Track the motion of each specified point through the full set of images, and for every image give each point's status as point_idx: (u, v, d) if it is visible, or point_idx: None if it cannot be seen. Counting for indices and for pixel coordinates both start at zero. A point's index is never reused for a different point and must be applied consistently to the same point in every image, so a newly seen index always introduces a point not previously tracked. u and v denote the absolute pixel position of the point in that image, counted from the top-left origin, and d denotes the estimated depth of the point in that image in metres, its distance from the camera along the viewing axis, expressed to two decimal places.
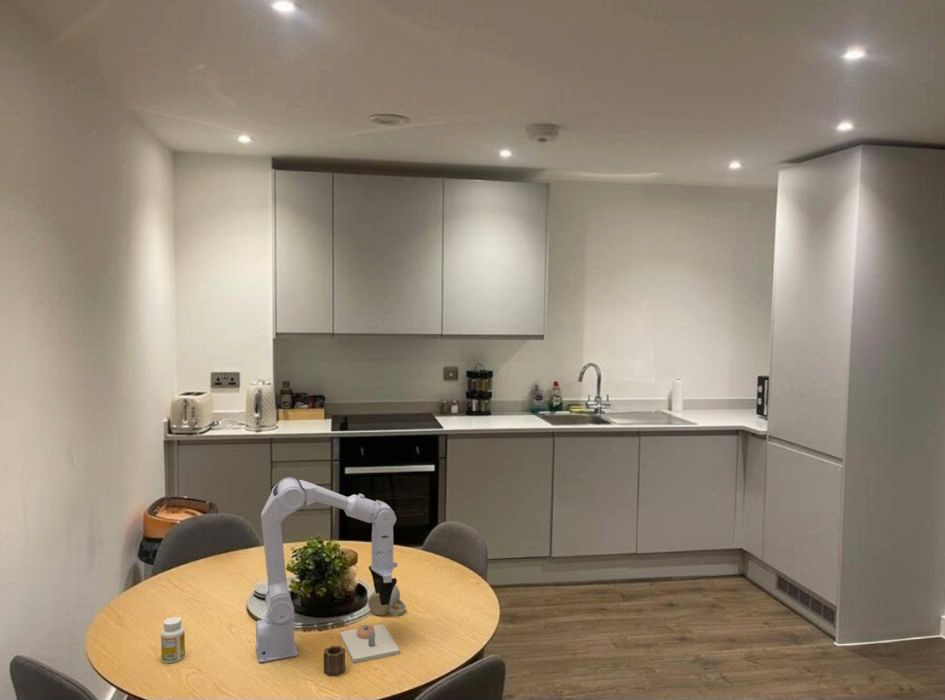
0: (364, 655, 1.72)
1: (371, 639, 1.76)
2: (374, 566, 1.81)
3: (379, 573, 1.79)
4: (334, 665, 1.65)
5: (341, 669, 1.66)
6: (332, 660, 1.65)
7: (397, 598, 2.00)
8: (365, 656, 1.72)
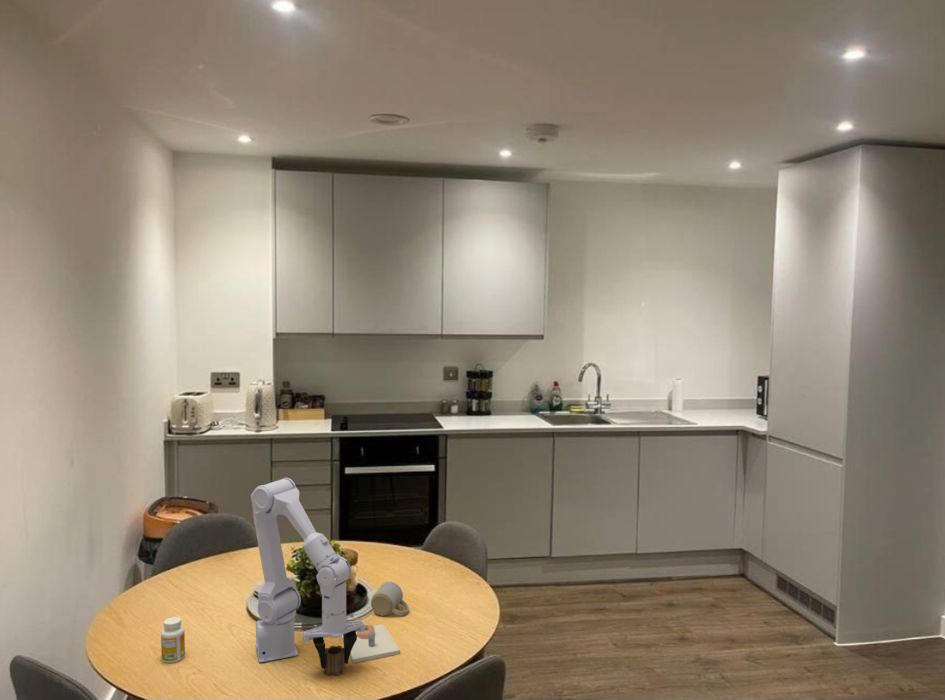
0: (364, 655, 1.72)
1: (371, 639, 1.76)
2: None
3: None
4: (334, 665, 1.65)
5: (341, 669, 1.66)
6: (332, 660, 1.65)
7: (400, 598, 1.99)
8: (365, 656, 1.72)
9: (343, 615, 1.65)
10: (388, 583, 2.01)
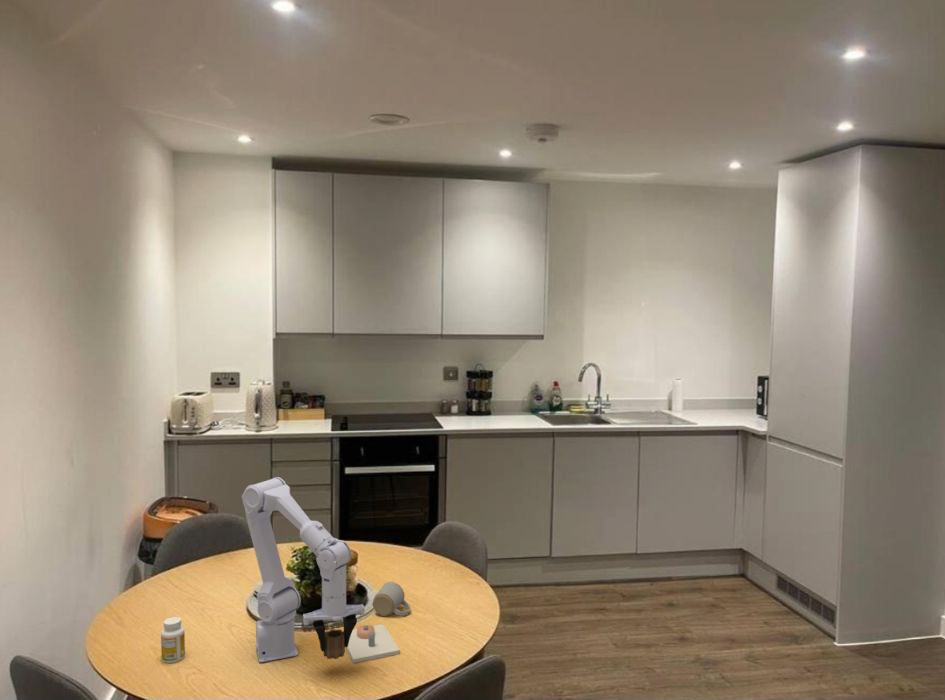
0: (364, 655, 1.72)
1: (371, 639, 1.76)
2: None
3: None
4: (334, 648, 1.64)
5: (341, 653, 1.65)
6: (332, 643, 1.64)
7: (402, 599, 1.99)
8: (365, 656, 1.72)
9: (343, 598, 1.64)
10: (390, 583, 2.00)
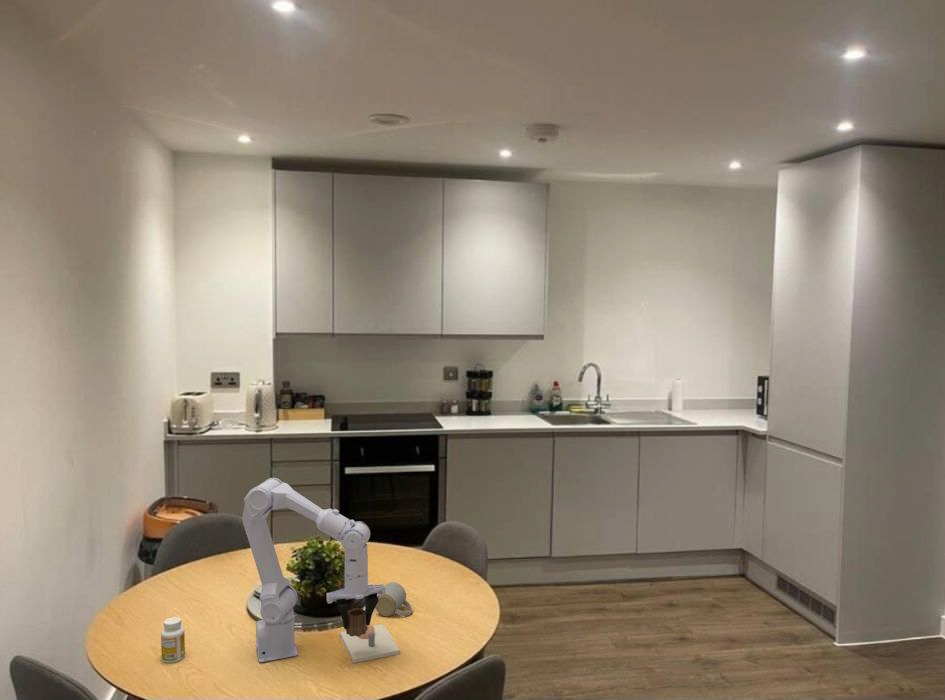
0: (364, 655, 1.72)
1: (371, 639, 1.76)
2: None
3: None
4: (356, 626, 1.70)
5: (363, 630, 1.71)
6: (355, 621, 1.70)
7: (403, 599, 1.99)
8: (365, 656, 1.72)
9: (365, 577, 1.70)
10: (391, 584, 2.00)
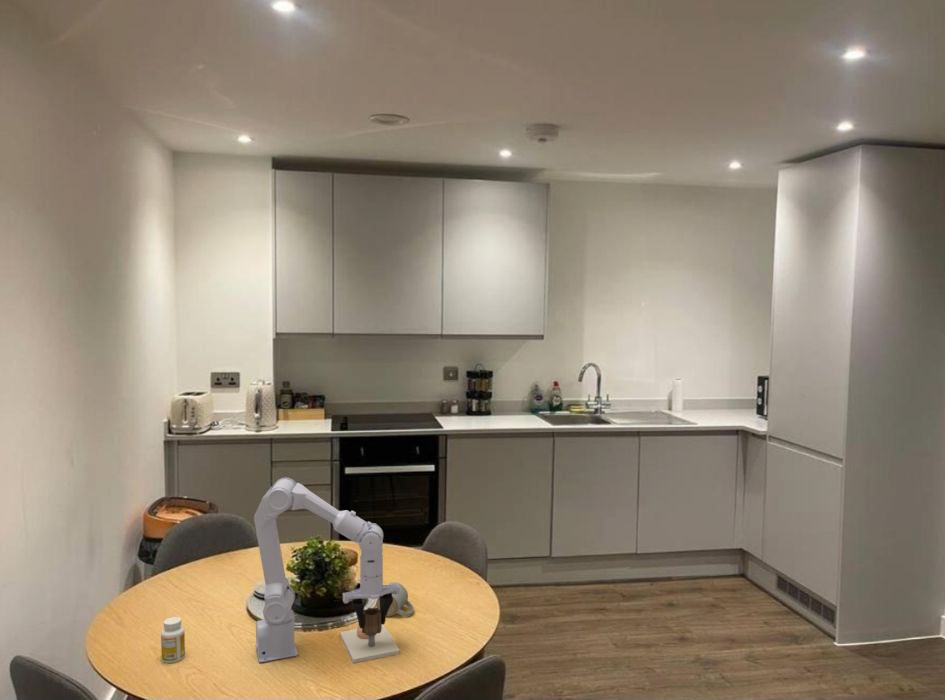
0: (364, 655, 1.72)
1: (371, 639, 1.76)
2: None
3: (353, 591, 1.76)
4: (372, 625, 1.75)
5: (378, 629, 1.76)
6: (370, 620, 1.75)
7: (405, 599, 1.99)
8: (365, 656, 1.72)
9: (380, 578, 1.75)
10: (393, 584, 2.00)
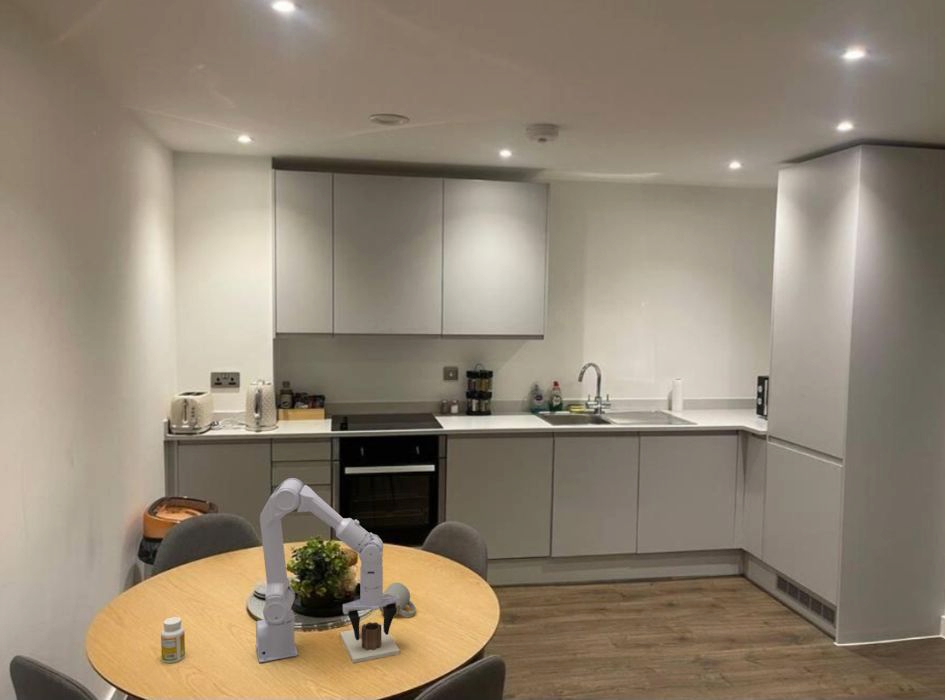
0: (364, 655, 1.72)
1: None
2: None
3: (353, 602, 1.76)
4: (372, 640, 1.75)
5: (378, 644, 1.76)
6: (370, 635, 1.75)
7: (407, 599, 1.99)
8: (365, 656, 1.72)
9: (380, 589, 1.75)
10: (395, 584, 2.00)
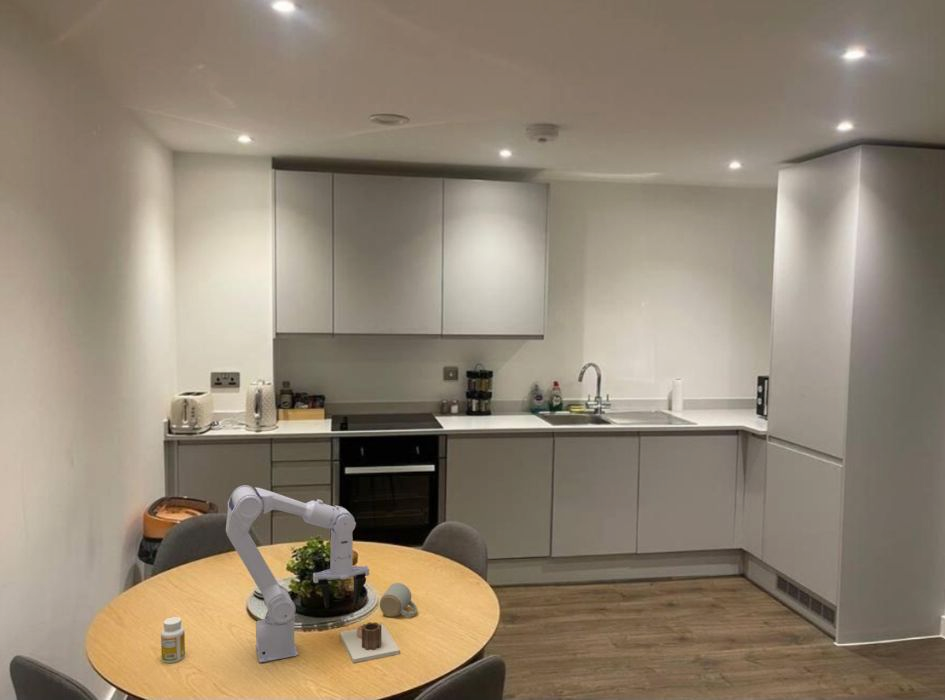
0: (364, 655, 1.72)
1: None
2: None
3: None
4: (372, 640, 1.75)
5: (378, 644, 1.76)
6: (370, 635, 1.75)
7: (408, 600, 1.99)
8: (365, 656, 1.72)
9: (349, 559, 1.80)
10: (397, 584, 2.00)
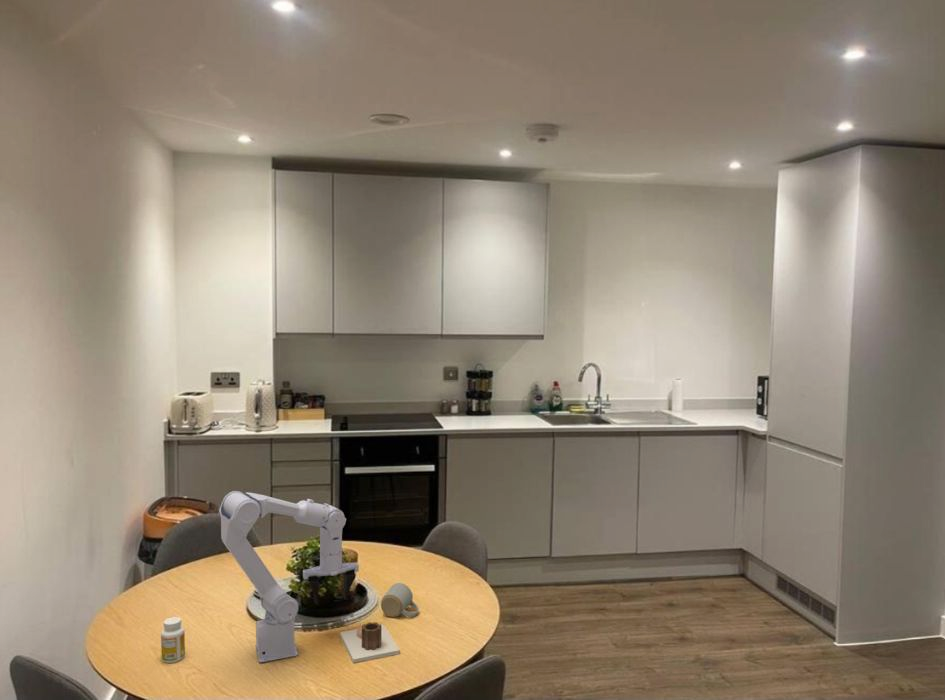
0: (364, 655, 1.72)
1: None
2: None
3: None
4: (372, 640, 1.75)
5: (378, 644, 1.76)
6: (370, 635, 1.75)
7: (410, 600, 1.99)
8: (365, 656, 1.72)
9: (339, 555, 1.82)
10: (398, 584, 2.00)
